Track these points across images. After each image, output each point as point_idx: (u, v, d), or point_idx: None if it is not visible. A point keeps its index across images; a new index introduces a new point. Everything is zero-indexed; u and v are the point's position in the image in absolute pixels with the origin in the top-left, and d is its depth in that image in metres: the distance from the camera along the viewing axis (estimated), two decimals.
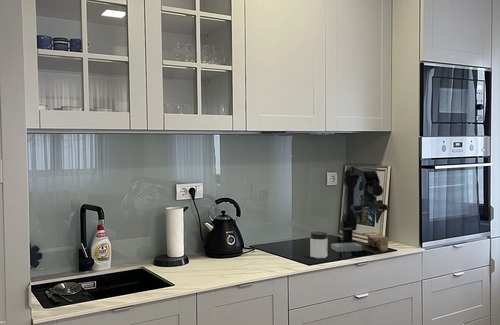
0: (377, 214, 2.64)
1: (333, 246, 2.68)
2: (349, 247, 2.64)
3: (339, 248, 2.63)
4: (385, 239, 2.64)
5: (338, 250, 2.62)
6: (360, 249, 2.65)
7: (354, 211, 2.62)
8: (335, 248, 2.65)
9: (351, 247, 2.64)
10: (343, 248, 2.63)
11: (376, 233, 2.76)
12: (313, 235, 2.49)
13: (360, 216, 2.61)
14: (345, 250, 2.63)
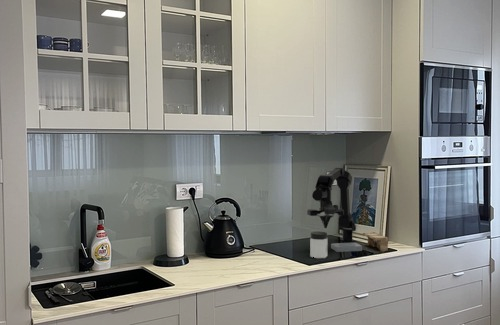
0: (326, 219, 2.65)
1: (333, 246, 2.68)
2: (349, 247, 2.64)
3: (339, 248, 2.63)
4: (385, 239, 2.64)
5: (338, 250, 2.63)
6: (360, 249, 2.65)
7: (318, 215, 2.64)
8: (335, 248, 2.65)
9: (351, 247, 2.64)
10: (343, 248, 2.63)
11: (376, 233, 2.76)
12: (313, 235, 2.49)
13: (324, 220, 2.64)
14: (345, 250, 2.63)
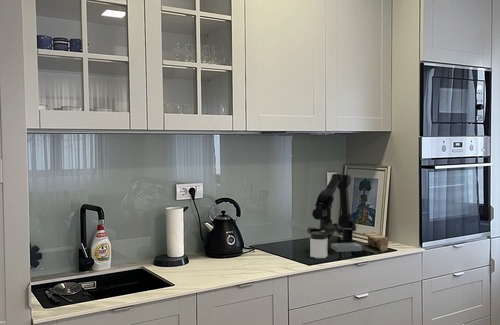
0: None
1: (333, 246, 2.68)
2: (349, 247, 2.64)
3: (339, 248, 2.63)
4: (385, 239, 2.64)
5: (338, 250, 2.63)
6: (360, 249, 2.65)
7: None
8: (335, 248, 2.65)
9: (351, 247, 2.64)
10: (343, 248, 2.63)
11: (376, 233, 2.76)
12: (313, 235, 2.49)
13: None
14: (345, 250, 2.63)
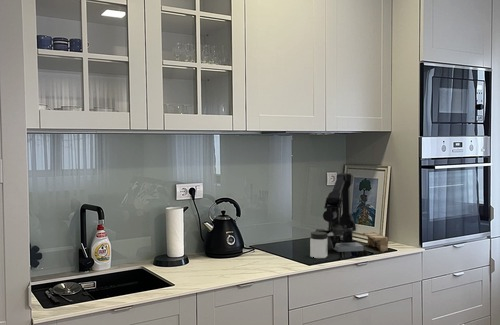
0: (334, 239, 2.67)
1: None
2: (350, 247, 2.64)
3: (340, 248, 2.63)
4: (385, 239, 2.64)
5: (339, 250, 2.63)
6: (361, 249, 2.65)
7: (327, 235, 2.66)
8: (336, 248, 2.65)
9: (352, 247, 2.64)
10: (344, 248, 2.63)
11: (376, 233, 2.76)
12: (313, 235, 2.49)
13: (332, 240, 2.65)
14: (346, 250, 2.63)
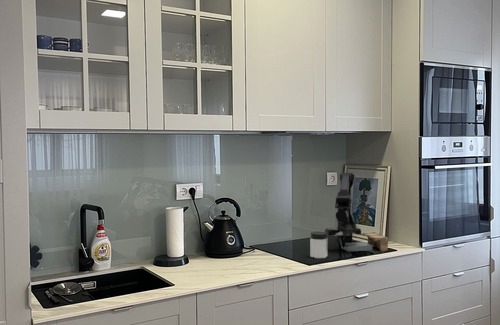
0: (343, 238, 2.68)
1: None
2: (360, 246, 2.65)
3: (350, 248, 2.64)
4: (385, 239, 2.64)
5: (349, 250, 2.64)
6: (370, 248, 2.66)
7: (336, 235, 2.67)
8: (346, 248, 2.66)
9: (362, 246, 2.65)
10: (354, 248, 2.64)
11: (376, 233, 2.76)
12: (313, 235, 2.49)
13: (342, 240, 2.66)
14: (356, 249, 2.65)
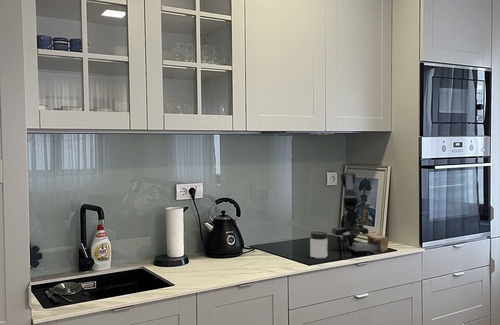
0: (350, 238, 2.68)
1: None
2: (367, 246, 2.65)
3: (357, 247, 2.64)
4: (385, 239, 2.64)
5: (356, 249, 2.64)
6: (378, 248, 2.67)
7: (343, 234, 2.68)
8: (353, 247, 2.67)
9: (369, 246, 2.66)
10: (361, 247, 2.65)
11: (376, 233, 2.76)
12: (313, 235, 2.49)
13: (349, 239, 2.67)
14: (363, 249, 2.65)
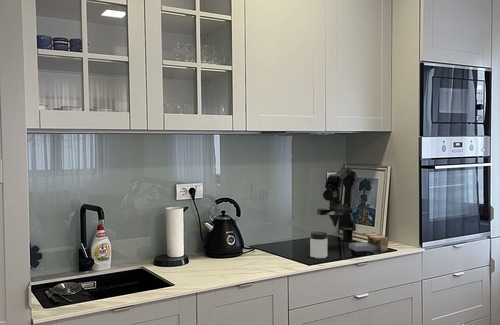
0: (335, 218, 2.73)
1: (351, 245, 2.69)
2: (368, 246, 2.65)
3: (358, 247, 2.64)
4: (385, 239, 2.64)
5: (357, 249, 2.64)
6: (378, 248, 2.67)
7: (328, 214, 2.72)
8: (354, 247, 2.66)
9: (369, 246, 2.65)
10: (362, 247, 2.64)
11: (376, 233, 2.76)
12: (313, 235, 2.49)
13: (334, 219, 2.71)
14: (364, 249, 2.65)
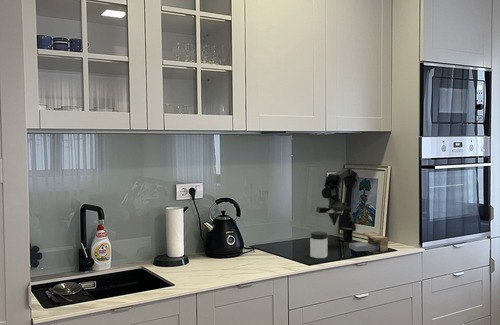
0: (334, 216, 2.74)
1: (351, 245, 2.69)
2: (367, 246, 2.65)
3: (358, 247, 2.64)
4: (385, 239, 2.64)
5: (357, 249, 2.64)
6: (378, 248, 2.67)
7: None
8: (353, 247, 2.66)
9: (369, 246, 2.65)
10: (361, 247, 2.64)
11: (376, 233, 2.76)
12: (313, 235, 2.49)
13: (333, 217, 2.73)
14: (363, 249, 2.65)
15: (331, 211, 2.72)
